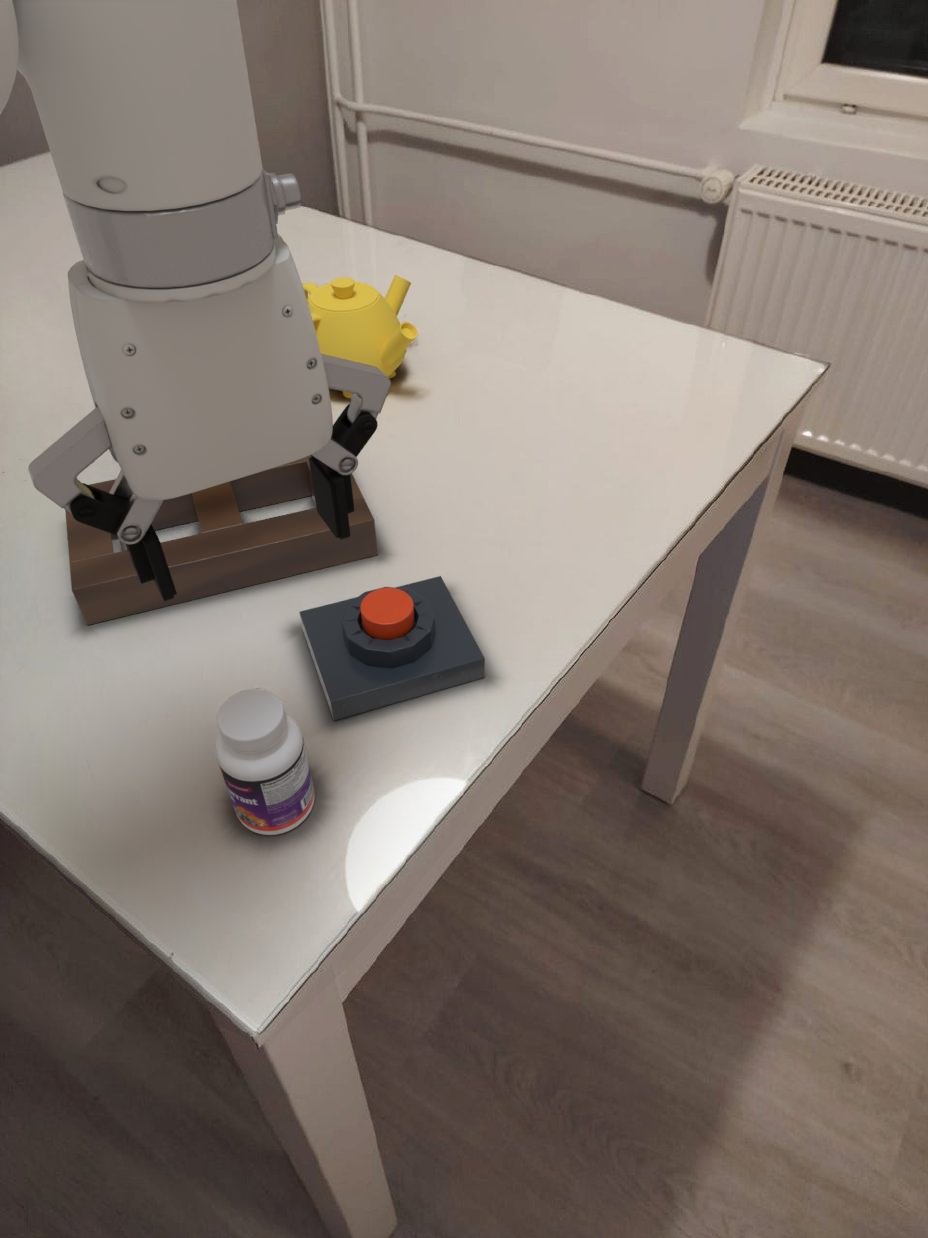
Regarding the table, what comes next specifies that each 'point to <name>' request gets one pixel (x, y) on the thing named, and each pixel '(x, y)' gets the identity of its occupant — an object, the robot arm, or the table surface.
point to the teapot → (361, 322)
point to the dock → (216, 544)
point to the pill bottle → (263, 762)
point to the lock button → (387, 613)
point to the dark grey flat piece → (391, 651)
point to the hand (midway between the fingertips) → (251, 553)
